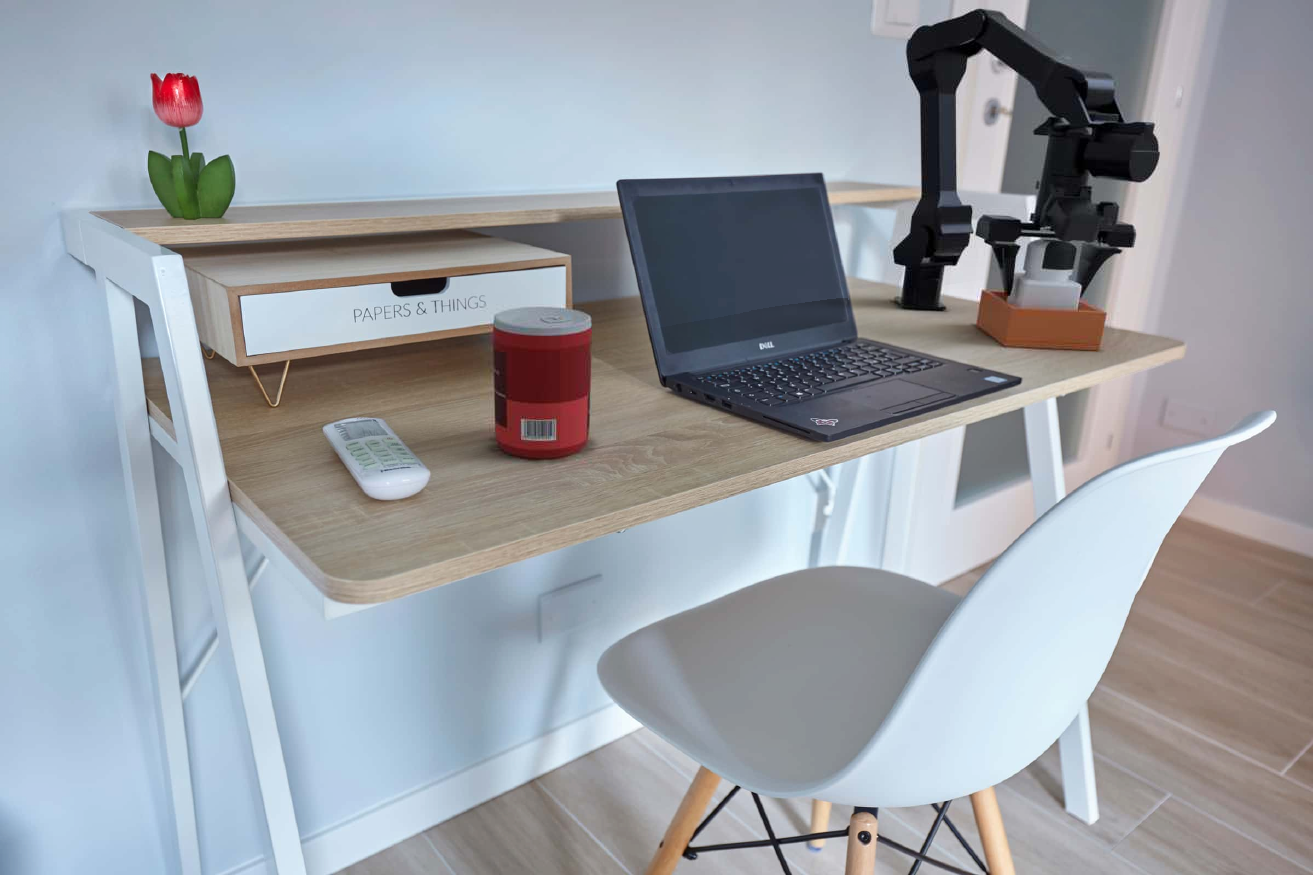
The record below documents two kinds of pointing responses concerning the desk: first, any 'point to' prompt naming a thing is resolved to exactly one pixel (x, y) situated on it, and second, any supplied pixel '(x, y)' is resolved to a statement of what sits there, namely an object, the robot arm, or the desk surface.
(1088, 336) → the bin
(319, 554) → the desk surface
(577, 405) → the canned food
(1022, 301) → the medicine bottle
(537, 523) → the desk surface
